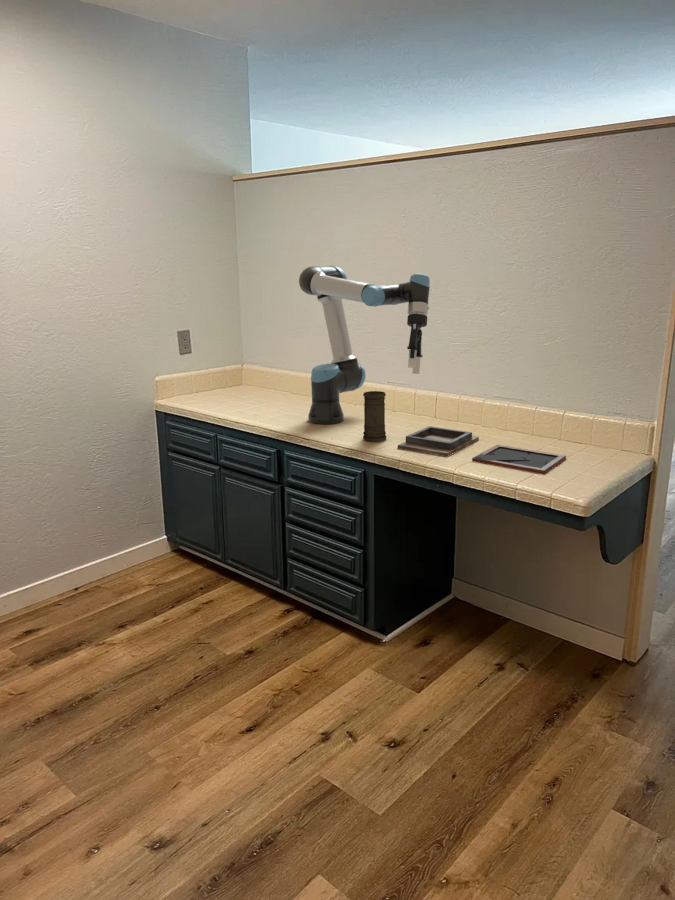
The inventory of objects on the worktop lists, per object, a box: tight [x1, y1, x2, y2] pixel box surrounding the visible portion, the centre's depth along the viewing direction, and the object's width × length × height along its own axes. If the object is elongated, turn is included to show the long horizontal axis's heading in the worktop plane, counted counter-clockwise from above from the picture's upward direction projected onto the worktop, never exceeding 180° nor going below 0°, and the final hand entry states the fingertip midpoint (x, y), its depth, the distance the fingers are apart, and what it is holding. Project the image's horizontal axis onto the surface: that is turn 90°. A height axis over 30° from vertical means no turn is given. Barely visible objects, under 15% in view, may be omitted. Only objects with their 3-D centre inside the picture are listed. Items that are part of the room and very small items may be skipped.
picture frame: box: [471, 444, 567, 475], centre depth 229 cm, size 20×2×25 cm
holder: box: [397, 425, 480, 457], centre depth 249 cm, size 26×20×4 cm
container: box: [362, 390, 387, 443], centre depth 255 cm, size 9×9×18 cm
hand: (413, 370), depth 256 cm, fingers open, 13 cm apart
